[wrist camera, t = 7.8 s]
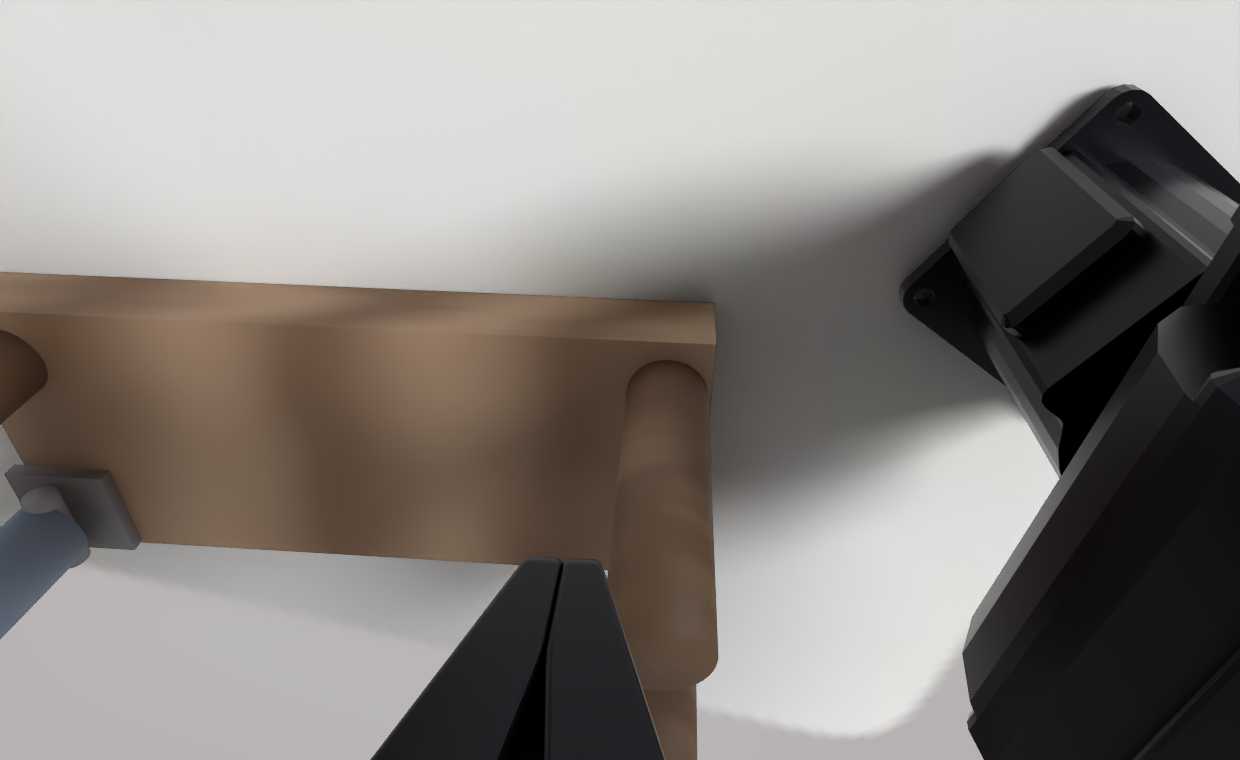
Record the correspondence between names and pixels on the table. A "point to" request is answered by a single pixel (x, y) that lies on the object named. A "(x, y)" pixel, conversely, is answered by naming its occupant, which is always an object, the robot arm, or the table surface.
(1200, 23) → the table surface
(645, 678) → the stool
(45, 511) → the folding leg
